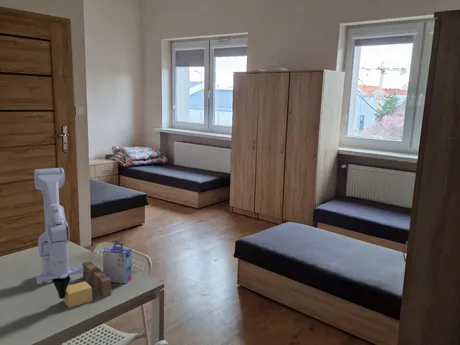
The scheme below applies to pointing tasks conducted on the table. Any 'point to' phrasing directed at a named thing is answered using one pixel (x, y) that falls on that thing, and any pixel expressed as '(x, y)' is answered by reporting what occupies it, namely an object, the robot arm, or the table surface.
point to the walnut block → (97, 278)
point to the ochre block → (78, 294)
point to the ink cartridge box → (118, 263)
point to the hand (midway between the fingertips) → (61, 297)
